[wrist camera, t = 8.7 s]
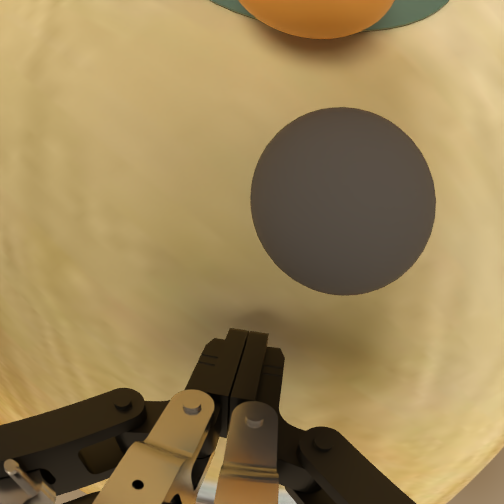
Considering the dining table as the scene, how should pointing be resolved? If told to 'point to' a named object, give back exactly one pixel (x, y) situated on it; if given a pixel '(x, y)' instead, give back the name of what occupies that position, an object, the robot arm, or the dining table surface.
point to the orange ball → (318, 16)
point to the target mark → (401, 13)
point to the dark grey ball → (343, 201)
